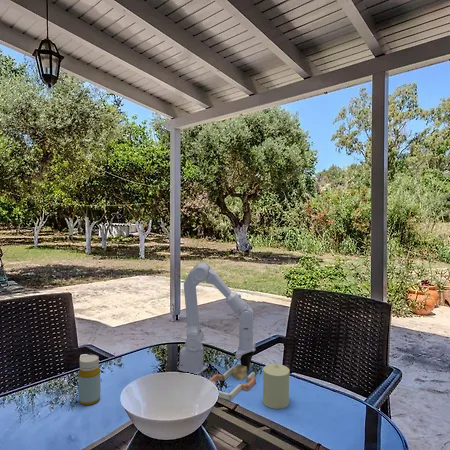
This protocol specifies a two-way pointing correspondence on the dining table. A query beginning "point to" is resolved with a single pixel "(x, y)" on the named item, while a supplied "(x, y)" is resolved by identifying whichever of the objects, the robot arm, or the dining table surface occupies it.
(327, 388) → the dining table surface
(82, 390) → the bottle
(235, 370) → the block
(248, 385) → the cream and orange frame
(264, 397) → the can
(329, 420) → the dining table surface
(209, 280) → the robot arm
